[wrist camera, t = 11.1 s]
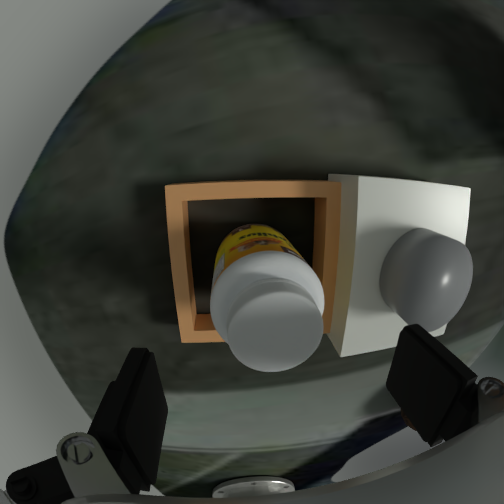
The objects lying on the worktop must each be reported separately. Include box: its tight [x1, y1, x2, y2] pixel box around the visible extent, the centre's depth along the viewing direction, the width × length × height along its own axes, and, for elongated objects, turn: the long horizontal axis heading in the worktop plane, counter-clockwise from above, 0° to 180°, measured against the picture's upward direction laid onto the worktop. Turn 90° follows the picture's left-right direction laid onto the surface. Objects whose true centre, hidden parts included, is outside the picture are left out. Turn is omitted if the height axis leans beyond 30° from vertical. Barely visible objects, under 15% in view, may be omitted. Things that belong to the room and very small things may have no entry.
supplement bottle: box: [210, 224, 324, 372], centre depth 16 cm, size 6×6×10 cm
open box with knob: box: [165, 174, 473, 357], centre depth 17 cm, size 12×21×8 cm, turn 91°
